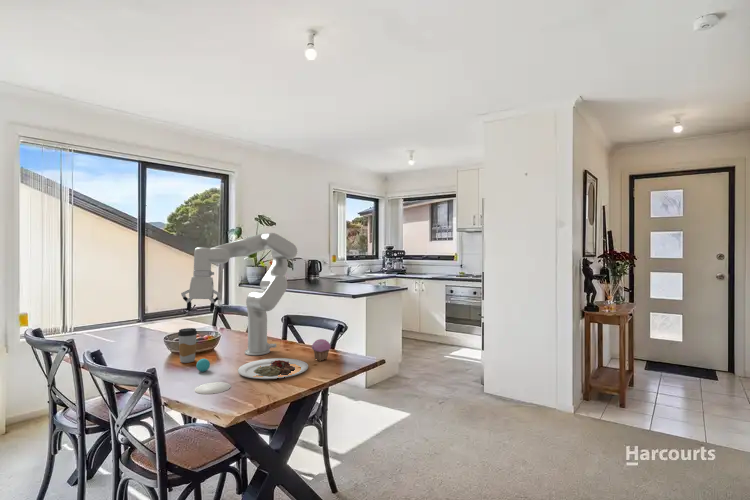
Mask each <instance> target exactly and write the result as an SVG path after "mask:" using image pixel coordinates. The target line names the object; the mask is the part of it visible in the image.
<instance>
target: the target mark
mask: <svg viewBox="0 0 750 500" xmlns="http://www.w3.org/2000/svg"><path fill="white" fill-rule="evenodd" d="M229 388H230V389H231V388H232V387H231V384H230V383H228V382H221V381H218V382H216V381H214V382H208V383H203V384H201V385H198V386H196V387H195V388H194V392H195V393H197V394H200V395H213V393H215V394H219V393H224V392H227V391H228V390H229ZM223 391H224V392H223Z"/></svg>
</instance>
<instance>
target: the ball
mask: <svg viewBox="0 0 750 500" xmlns="http://www.w3.org/2000/svg"><path fill="white" fill-rule="evenodd" d="M210 365H211V363H210V360H209V359H207V358H201V359H199V360H198V361H197V362H196V365H195V366H196V369H197V371H199V372H203V373H204V372H207V371H208V370H209V369H210V367H211V366H210Z"/></svg>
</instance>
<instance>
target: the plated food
mask: <svg viewBox="0 0 750 500" xmlns="http://www.w3.org/2000/svg"><path fill="white" fill-rule="evenodd" d="M289 363H290V364H296V365H298V366H300V367H301V370H300V371H299V372H297V373H295V374H292V375H288V374H289V373H291V371H294V370H295V367H293V366H290V364H289ZM270 364H271V365H270ZM260 366H261V367H260ZM308 369H309V364H308V363H307V362H305V361H303V360H300V359H296V358H286V357H285V358H284V357H283V358H282V357H278V358H264V359H258V360H253V361H250V362H247V363H244V364H242V365H240V366H239V368H238V369H237V373H238V374H239V375H240V376H242V377H245V378H249V379H257V380H278V379H277V378H279V379H283V378H284V377H285V378H289V377H293V376H297V375H300V374H301V373H302V374H303V373H304V372H306V371H307V370H308ZM254 372H255V373H254ZM280 374H281V375H288V376H283V377H278V375H280ZM256 375H258V376H263V377H253V376H256Z"/></svg>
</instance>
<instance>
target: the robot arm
mask: <svg viewBox="0 0 750 500" xmlns="http://www.w3.org/2000/svg"><path fill="white" fill-rule="evenodd" d="M265 250H270V253H271V257H272V264H271V266H270V267H269V269H268V271H267V272H266V273H265V274H264V276H263V277H262V279H261V280H260V282H259V286H260V289H261V290H262V291H261V290H254V291H251V292H250V293H248V295H246V299H245V304H246V310H247V348H246V349H245V350H244V354H245V355H247V356H263V355H267V354H269V353H270V352H271V349H272V348H273V349H274V348H277V343H269V342H268V314H267V312H270V311H272V310H273V309H275V307H276V306H277V305H278V303H279V302H280V301H281V299H282V298H283V296H284V294H285V293H286V291H287V289H288V280H287V278H286V277H285V275H286V274H287V272H288V269H289V268H288V265H289V264H288V260H292V259H294V258H295V257H296V256H297V254H298V249H297V246H296V245H295V244H294V243H293V242H291V241H290V240H288V239H286V238H284V237H283V236H282V235H279V234H277V233H275V232H262V233H258V234H255V235H252V236H249V237H246V238H242V239H239V240H235V241H232V242H227V243H223V244H219V245H217V246H213V247H196V248H195V249H194V250H193V251H194V253H193V254H194V255H193V271H192V274H193V275H192V277H191V279H190V284H189V289H188V290H185V291H182V292H181V297H182V299H183V301H185V302H186V310H187V313H189V312H191V311H192V300H193V299H194V300H209V301H210V307H209V310H210V311H209V312H210V313H212V312H214V310H215V305H216V304H215V303H216V302H217V301H218V300H219V299H220V298H221V296H222V293H220V292H219V291H217V290H215V288H214V287H215V286H214V277H212V276H215V272H214V271H212V264H217V265H223V264H226V263H228V262H229V261H230V259H232V258H239V257H247V256H250V255H253V254H256V253H259V252H262V251H265ZM186 294H188V297H187V295H186ZM214 295H216V297H215V298H214Z"/></svg>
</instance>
